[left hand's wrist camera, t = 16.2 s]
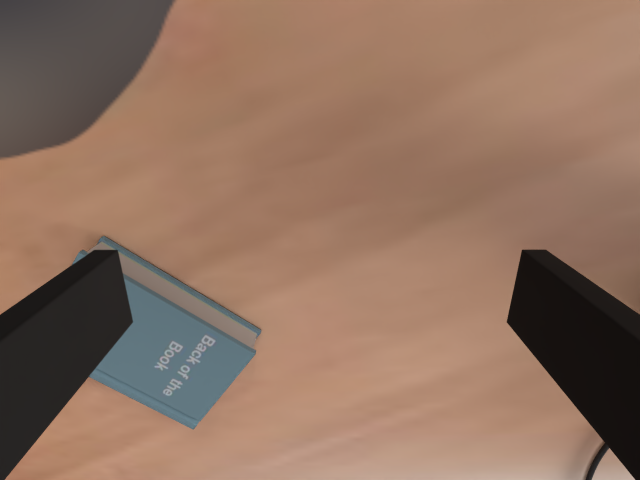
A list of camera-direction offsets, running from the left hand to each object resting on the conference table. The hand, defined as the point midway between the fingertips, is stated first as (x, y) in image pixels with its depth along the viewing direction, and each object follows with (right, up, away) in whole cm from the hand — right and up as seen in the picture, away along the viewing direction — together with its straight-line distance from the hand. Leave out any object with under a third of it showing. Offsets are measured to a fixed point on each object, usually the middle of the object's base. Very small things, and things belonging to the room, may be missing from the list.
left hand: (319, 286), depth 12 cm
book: (-22, -10, +38) cm, 45 cm away
